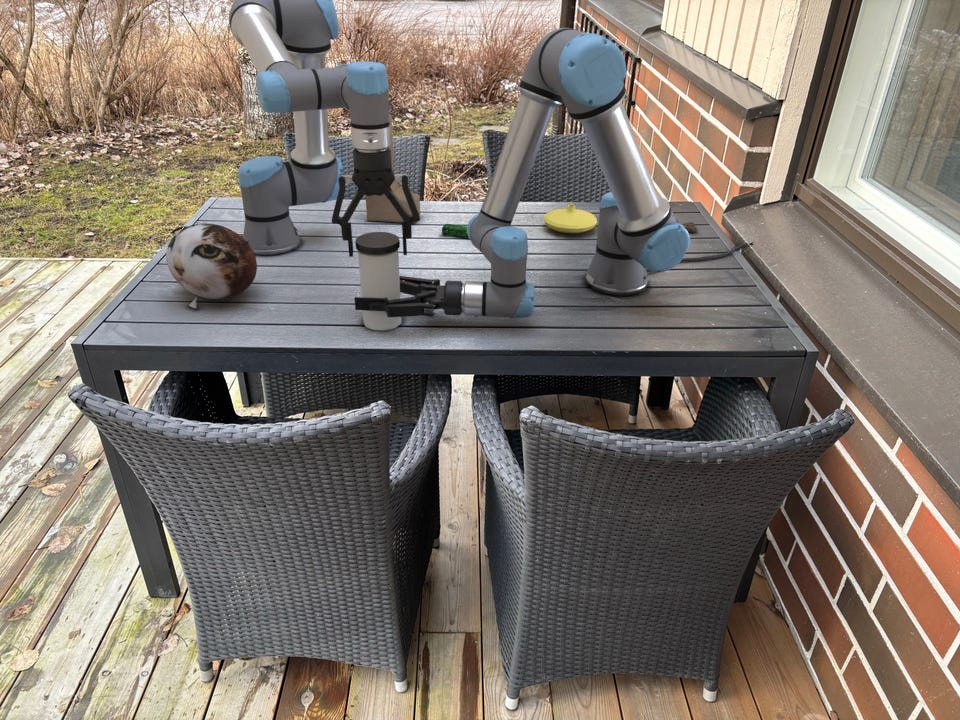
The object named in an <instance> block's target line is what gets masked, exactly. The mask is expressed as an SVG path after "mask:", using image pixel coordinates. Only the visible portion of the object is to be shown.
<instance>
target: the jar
mask: <svg viewBox="0 0 960 720" xmlns="http://www.w3.org/2000/svg"><path fill="white" fill-rule="evenodd" d="M357 257H358V266H359V267H358V268H359V269H358V270H359V280H360V281H359V283H360V296H361V297H364V298H387V299H388V300H394V299H401V292H400V278H399V276H400V261H399V260H400V259H399V249H398V250H396V251H394V252H392V253H388V254H383V255H369V254H364V253H361V252H359V251H358V250H357ZM362 320H363V325H364V326H365V327H366V328H367V329H370V330H373V331H388V330H392V329H395V328H398V327H399V326H400V325H401V324H402V321H403V319H402V317H387V313H386V312H385V311H366V310H362Z"/></svg>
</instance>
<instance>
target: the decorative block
mask: <svg viewBox="0 0 960 720" xmlns="http://www.w3.org/2000/svg"><path fill="white" fill-rule="evenodd" d="M389 122H390V138H391V145H390V146H389V147H388V148H390V150H391V159H392V171H393V173H394V174H395V161H394V158H395V157H394V138H393V137H394V136H393V135H394V134H393V116H392V114H390V113H389ZM390 187H391V189H392V190H393V192H394V194H395V195H396V197H397V198H398V200H399V201H400V202H401V204H402V205H403V207H404V208H405V210H406V211H407V212H408V214H409V215H412V213H411V210H410V207H409V205H408V202H407V200H406V197H405V194H404V192H403V188H402V187H400V185H399V184H398V182H397V181H396V180H394V182H393V183H392V185H391V186H390ZM411 193H412V196H413V199H414V201H415V204H416V207H417V209H418V212H419V215H420V216H421V195H420V194H418V193H414V192H411ZM364 196H365V209H366V219H367V221H371V222H388V223H401V224H402V221H404V220H403V219H402V217H401V216H400V215H399V213H398V212H397V210H396V209H395V208H394V206H393V205H392V203H391V202H390V200H389V199H388V198H387V197H386V196H385V194H383V195H382V196H377V195H372V196H367V195H365V194H364ZM415 223H416V222H413V223H412V224H415Z"/></svg>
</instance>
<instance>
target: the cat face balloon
mask: <svg viewBox="0 0 960 720" xmlns="http://www.w3.org/2000/svg"><path fill="white" fill-rule="evenodd" d="M241 236H242V235H240V234H239V233H238V232H236V231H234V230H233V229H231V228H229V227H226V226H223V225H220V224H215V223H205V222H204V223H195V224H191V225H188V226H187V227H186V228H184V229H181V230H178V231H177V232H176V233H175V234H174V235H173V237H171V239H170V241H169V243H168V245H167V248H166V254H165V260H166V265H167V268H168V271H169V273H170V275H171V276H172V277H173V279H174V280H175V281H176V282H177V284H178V285H180V286H181V287H182V288H183V289H185V290H186V291H187V292H189V293H191V294H194V295H195V298H194V299H193V300H192V302H190V303H189V304H188V306H189V307H191V308H192V309H197V308H198V307H197V298H198V297H201V298H205V299H210V300H226V299H230V298H233V297H236V296H238V295H241V294H242V293H244V292H245V291H247V290H248V289H249V288H250V286H251V285H252V284H253V282H254V280H255V278H256V275H257V271H258V262H257V257H256V254H254V252H253V250H252V248H251V247H250V245H249V244H248V242H249V241H246V240H245V239H244V238H243V237H241Z"/></svg>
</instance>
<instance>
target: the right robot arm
mask: <svg viewBox="0 0 960 720" xmlns="http://www.w3.org/2000/svg"><path fill="white" fill-rule="evenodd" d="M626 63H627V62H626V59H625V57H624V55H623V52H622V51H621V49H620V48H619V46H618V45H617V44H615V42H613V41H611V40H610V39H608V38H607V37H605V36H603V35H600V34H597V33H589V32H586V31H582V30H577V29H575V28H571V27H561V28H556V29H554V30H551V31H550V32H548V33H546V34H545V35H544V36H543V37H542V38H541V39H540V40H539V41H538V43H537V44H536V46H535V47H534V49H533V51H532V52H531V55H530V56H529V59H528V61H527V64H526V66H525V68H524V71H523V73H522V76H521V79H520V82H519V85H518V90H519V93H520V97H519V100H518V103H517V106H516V108H515V111H514V113H513V117H512V119H511V123H510V126H509V127H508V128H509V129H508V131H507V133H506V136H505V139H504V142H503V145H502V148H501V150H500V153H499V157H498V159H497V161H496V165H495V168H494V170H493V173H492V176H491V179H490V182H489V184H488V187H487V191H486V192H485V196H484V199H483V202H482V205H481V207H480V211H479V213H477V214H475V215H474V216H473V217H471V219H470V220H469V221H468V223H467V225H466V226H467V234H468V237H467V238H468V239H469V240H470V242H471V243H472V245H473V246H474V247H475V248H476V249H477V250H478V251H479V252H480V253H481V254H482V256H483V257H484V258H485V259H486V260H487V261H488V263H490V281H477V280H476V281H475V280H465V282H464V283H463V281H462V280H446V281H445V283H444V286H442V285H441V280H440V278H439V279H438V278H434V279H433V278H432V279H431V278H430V279H429V278H422V277H421V278H420V277H413V276H405V275H399V278H400V294H404V295H405V294H406V295H410V296H408V297H402V298H401V297H400V299H394V300H388V299H387V298H364V297H362V296H361V297H359V296H355V297H354V309H355V311H363V310H366V311H385V312H386V313H387V317H401V318H405V317H406V318H407V317H434V316H435V311H436V310H443V313H444V315H446V316H457V317H458V316H461V315H462V313H463V315H464V316H465V317H467V316H468V317H470V316H471V317H474V318H478V317H488V318H489V317H491V318H508V319H509V318H510V319H524V318H526V319H527V318H531V317H532V316H533V314H534V308H535V285H534V283H529V282H527V262H528V252H529V245H528V243H529V242H528V233H527V232H526V231H525V230H524V229H522V228H519V227H516V226H512V223H513V220H514V217H515V214H516V212H517V209H518V207H519V204H520V201H521V199H522V197H523V194H524V191H525V188H526V186H527V183H528V180H529V177H530V176H531V172H532V170H533V167H534V165H535V162H536V159H537V157H538V154H539V151H540V149H541V146H542V143H543V140H544V138H545V135H546V134H547V130H548V127H549V125H550V123H551V120H552V117H553V114H554V112H555V109H556V108H558V107H560V106H561V105H563V104H564V106H565V108H566V111H567V113H568V115H569V118H570V119H571V120H572V121H576V122H579V123H581V125H582V128H583V130H584V132H585V134H586V137H587V139H588V141H589V144H590V146H591V148H592V151H593V153H594V155H595V158H596V160H597V162H598V165H599V167H600V169H601V172H602V174H603V176H604V179H605V181H606V183H607V185H608V188H609V190H610V191H609V192H606V193H604V194H603V196H601V199H600V204H599V207H598V208H599V209H598V210H599V214H598V222H597V224H598V226H597V236H596V244H595V251H594V254H593V257H592V259H591V261H590V263H589V266H588V268H587V269H586V273H585V284H586V285H587V286H588V287H589V288H590V289H591V290H594V291H595V292H598V293H601V294H605V295H611V296H619V297H621V296H623V297H625V296H633V295H637V294H641V293H642V292H644V291H645V290H646V289H647V288H648V281H649V277H648V273H664V272H668V271H670V270H672V269H673V268H674V267H676V266H678V264H680V263H682V262H683V263H684V262H699V261H706V260H707V261H708V260H715V259H719V258H724V257H726V256H729V255H730V254H732V253H733V252H735V251H736V250H738V249H740V248H742V247H743V246H745V245H746V244H743V242H740V243H739V244H737V245H736V246H734V247H735V248H734V247H732V248H731V249H732V250H731V249H730V250H731V251H730V250H728V251H729V252H728V251H726V252H727V253H726V252H724V253H725V254H724V253H719V254H715V255H708V256H707V255H706V256H701V257H686V253H687V252H688V251H689V247H690V243H691V237H690V232H688V231H687V230H686V228H684V226H683V225H682V223H679V222H678V223H677V222H676V218H675V216H674V213H673V210H672V208H671V205H670V202H669V200H668V199H667V198H665V197H662V196H659V195H658V191H657V189H656V187H655V184H654V182H653V178H652V176H651V174H650V171H649V169H648V166H647V163H646V161H645V158H644V155H643V153H642V151H641V148H640V145H639V143H638V140H637V138H636V135H635V132H634V129H633V128H632V127H633V126H632V125H631V121H630V119H629V117H628V114H627V112H626V109H625V106H624V104H623V101H624V99H625V97H626V94H627V89H626V85H625V82H624V81H625V78H627V64H626ZM733 248H734V249H733ZM685 257H686V258H685Z"/></svg>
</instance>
